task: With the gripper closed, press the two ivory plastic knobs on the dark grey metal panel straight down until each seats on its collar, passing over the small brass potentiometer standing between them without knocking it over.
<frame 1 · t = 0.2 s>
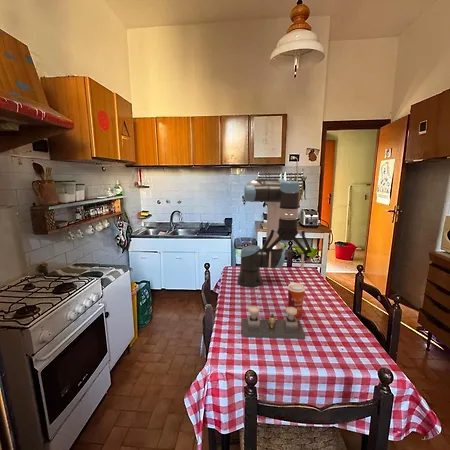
hand: (285, 267, 114), 28 cm above the table, fingers open, 13 cm apart
coffee cup: (294, 315, 129), on the table
panel: (271, 330, 116), on the table
knob a: (253, 313, 115), point 8 cm above the table, slide at 0.0 cm
knob b: (291, 314, 114), point 8 cm above the table, slide at 0.0 cm
potentiometer: (271, 326, 115), point 2 cm above the table, touching panel
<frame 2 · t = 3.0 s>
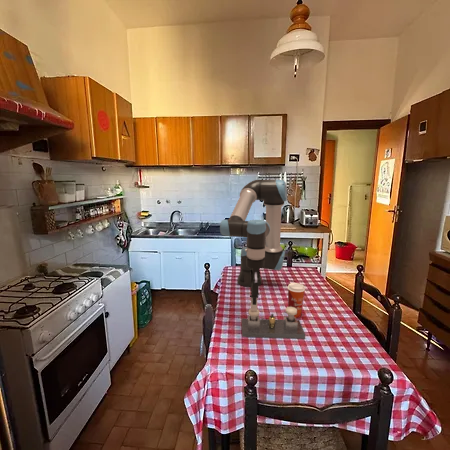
hand: (253, 310, 114), 9 cm above the table, fingers closed
knob a: (253, 315, 115), point 7 cm above the table, slide at 1.1 cm, touching gripper
everything else where it was.
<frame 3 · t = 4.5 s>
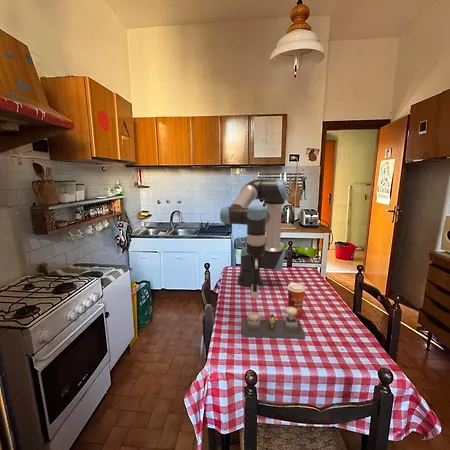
hand: (254, 297, 114), 15 cm above the table, fingers closed
knob a: (253, 319, 115), point 5 cm above the table, slide at 3.0 cm
everything else where it was.
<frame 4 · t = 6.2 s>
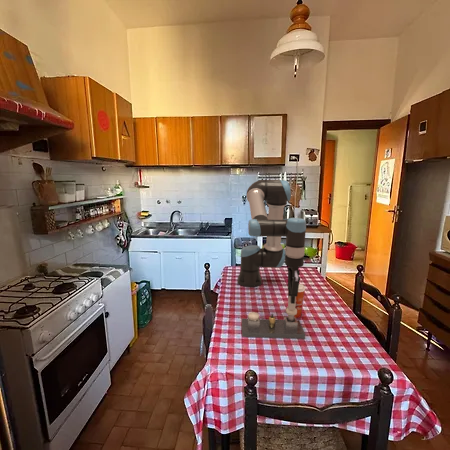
hand: (291, 309, 114), 10 cm above the table, fingers closed
knob b: (291, 314, 114), point 8 cm above the table, slide at 0.1 cm, touching gripper
everything else where it was.
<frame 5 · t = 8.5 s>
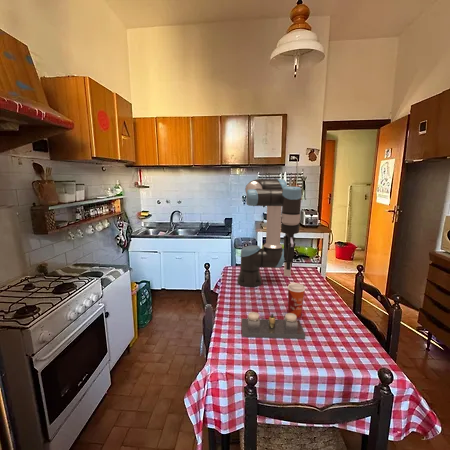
hand: (287, 275, 118), 23 cm above the table, fingers closed
knob b: (290, 320, 115), point 5 cm above the table, slide at 3.0 cm
everything else where it was.
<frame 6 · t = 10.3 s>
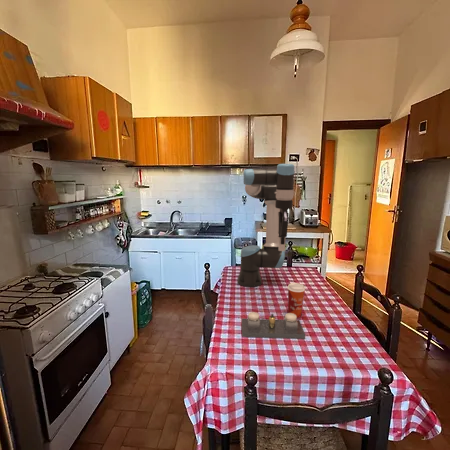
hand: (281, 250, 123), 32 cm above the table, fingers closed
nothing on the table moved.
at the end: knob a slide at 3.0 cm; knob b slide at 3.0 cm; potentiometer tilted 0° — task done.
